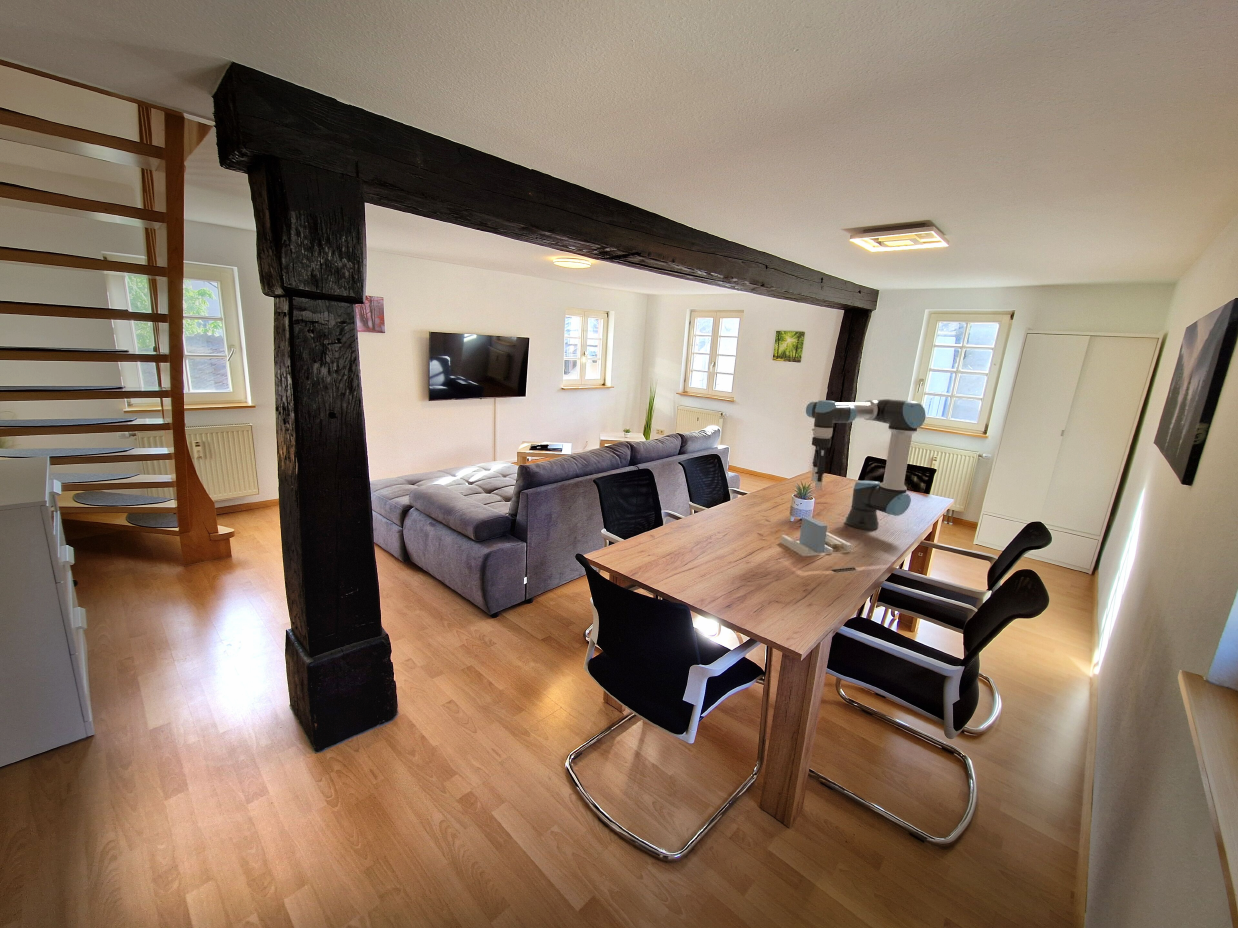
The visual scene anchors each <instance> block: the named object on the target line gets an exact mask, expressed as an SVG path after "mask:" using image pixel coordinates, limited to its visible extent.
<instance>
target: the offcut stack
mask: <svg viewBox="0 0 1238 928" xmlns="http://www.w3.org/2000/svg"><path fill="white" fill-rule="evenodd" d="M825 545H827V546H828V547H830V548H832V549H833V552H842V551H845V549H844V548H842V544H841V543H840V542H838V541H836V540H835V539H833V538H831V537H829V536H826V540H825Z"/></svg>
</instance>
